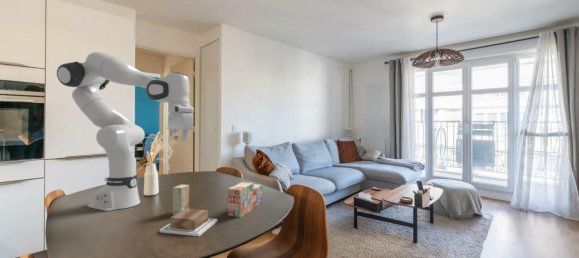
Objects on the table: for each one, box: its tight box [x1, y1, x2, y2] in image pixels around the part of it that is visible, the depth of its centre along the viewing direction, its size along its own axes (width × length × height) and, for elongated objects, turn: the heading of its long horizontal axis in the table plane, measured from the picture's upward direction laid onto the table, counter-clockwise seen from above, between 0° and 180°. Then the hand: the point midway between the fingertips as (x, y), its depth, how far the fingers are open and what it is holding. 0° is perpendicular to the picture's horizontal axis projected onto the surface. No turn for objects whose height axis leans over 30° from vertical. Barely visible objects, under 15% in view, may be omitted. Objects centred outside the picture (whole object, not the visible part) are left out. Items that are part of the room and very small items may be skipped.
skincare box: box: [172, 184, 190, 216], centre depth 115 cm, size 6×4×12 cm
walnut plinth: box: [169, 208, 209, 231], centre depth 101 cm, size 10×10×4 cm
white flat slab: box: [159, 217, 218, 237], centre depth 101 cm, size 16×14×1 cm
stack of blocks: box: [227, 181, 263, 218], centre depth 122 cm, size 21×6×12 cm, turn 160°
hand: (179, 139), depth 115 cm, fingers open, 8 cm apart
